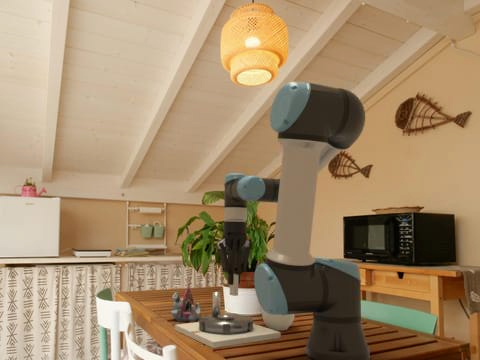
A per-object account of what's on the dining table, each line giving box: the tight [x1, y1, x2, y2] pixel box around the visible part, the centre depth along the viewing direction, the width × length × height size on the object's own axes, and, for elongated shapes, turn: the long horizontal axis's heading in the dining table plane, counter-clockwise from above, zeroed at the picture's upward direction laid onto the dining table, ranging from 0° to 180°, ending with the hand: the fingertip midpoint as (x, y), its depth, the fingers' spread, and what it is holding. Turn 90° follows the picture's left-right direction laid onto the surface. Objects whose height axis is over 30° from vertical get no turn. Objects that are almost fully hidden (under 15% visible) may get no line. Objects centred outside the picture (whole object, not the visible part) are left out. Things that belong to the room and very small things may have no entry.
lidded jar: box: [261, 307, 296, 332], centre depth 130 cm, size 11×11×9 cm
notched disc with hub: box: [198, 291, 254, 334], centre depth 123 cm, size 16×17×9 cm
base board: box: [174, 321, 282, 349], centre depth 122 cm, size 24×22×2 cm
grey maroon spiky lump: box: [168, 286, 202, 323], centre depth 142 cm, size 11×11×12 cm
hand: (233, 295), depth 132 cm, fingers closed
